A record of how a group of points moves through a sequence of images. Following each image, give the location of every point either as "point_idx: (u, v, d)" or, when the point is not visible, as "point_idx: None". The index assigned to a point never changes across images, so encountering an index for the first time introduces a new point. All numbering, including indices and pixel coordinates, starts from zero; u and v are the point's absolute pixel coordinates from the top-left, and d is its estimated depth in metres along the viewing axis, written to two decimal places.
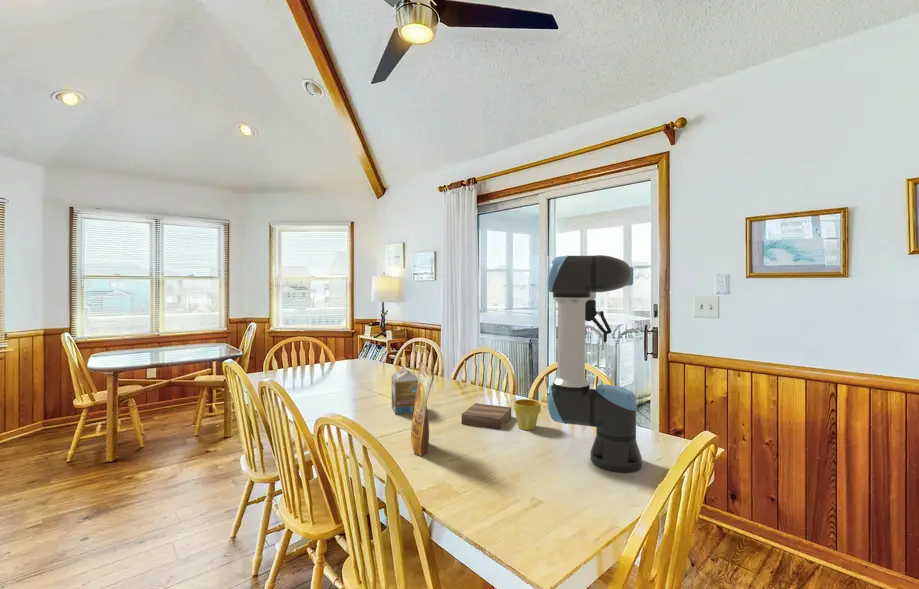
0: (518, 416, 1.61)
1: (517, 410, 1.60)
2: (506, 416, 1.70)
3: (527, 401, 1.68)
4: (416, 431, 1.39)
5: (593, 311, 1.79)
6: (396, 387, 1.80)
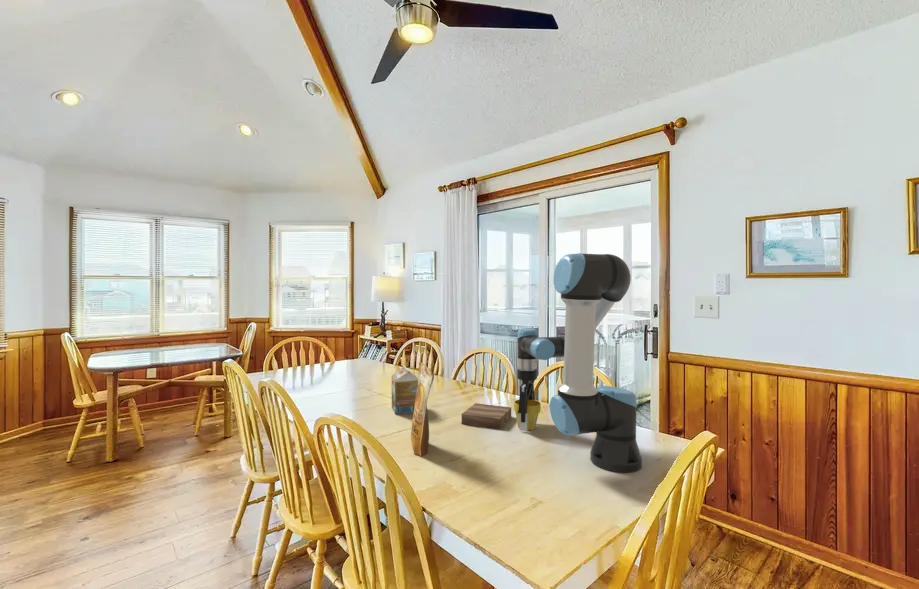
0: (518, 416, 1.61)
1: (517, 410, 1.60)
2: (506, 416, 1.70)
3: None
4: (416, 431, 1.39)
5: None
6: (396, 387, 1.80)
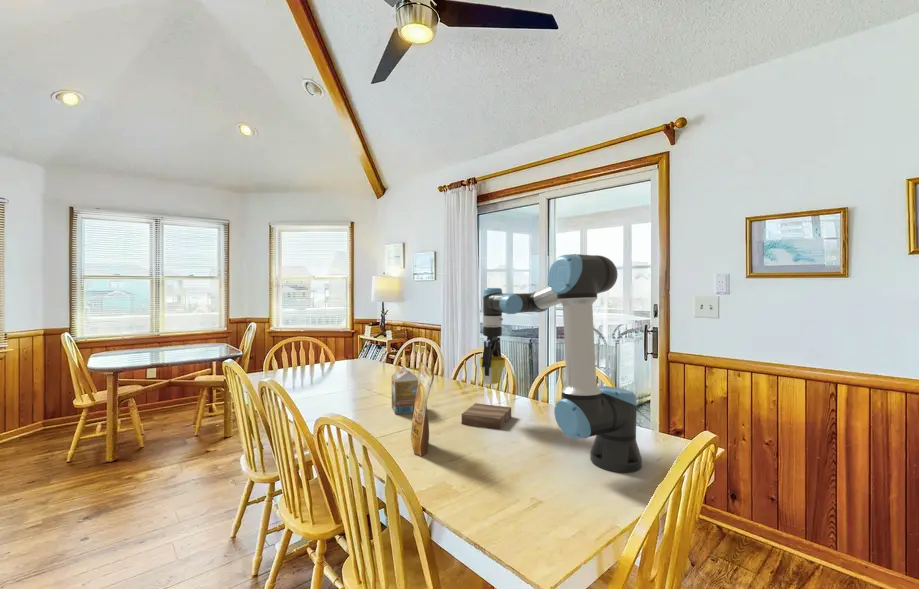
0: (483, 371, 1.69)
1: None
2: (506, 416, 1.70)
3: (493, 358, 1.75)
4: (416, 431, 1.39)
5: None
6: (396, 387, 1.80)
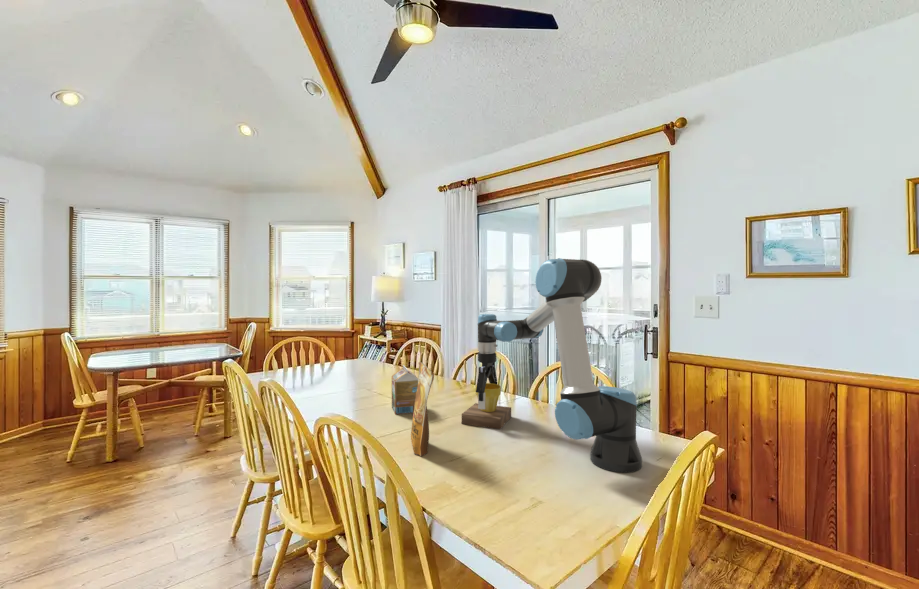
0: None
1: None
2: (506, 416, 1.70)
3: (489, 385, 1.77)
4: (416, 431, 1.39)
5: None
6: (396, 387, 1.80)
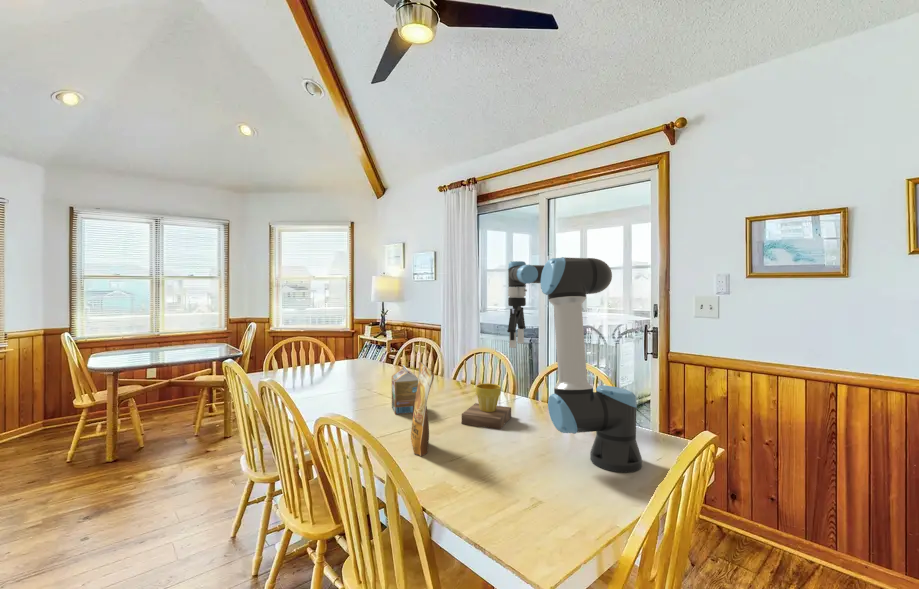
0: (479, 399, 1.71)
1: (478, 393, 1.70)
2: (506, 416, 1.70)
3: (489, 385, 1.77)
4: (416, 431, 1.39)
5: None
6: (396, 387, 1.80)
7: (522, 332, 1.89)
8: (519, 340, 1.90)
